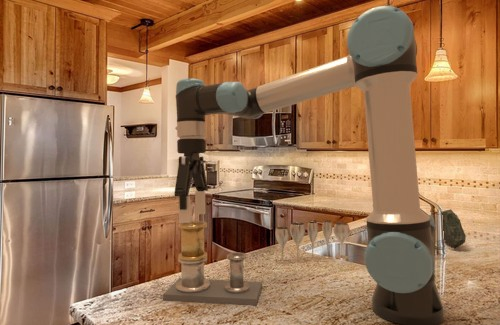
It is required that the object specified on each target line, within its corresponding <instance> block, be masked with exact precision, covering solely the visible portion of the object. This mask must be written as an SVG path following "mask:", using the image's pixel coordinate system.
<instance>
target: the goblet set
mask: <svg viewBox="0 0 500 325" xmlns="http://www.w3.org/2000/svg"><path fill="white" fill-rule="evenodd" d="M332 223H333V222H332V221H328V220H326V221H325V220H324V221H322V226H321V228H322V229H321V230H322V234H323V237H324V238H325V243H326V256H322V257H321V259H323V260H326V261H331V260H333V259H334V257H335V258H336V259H340V260H341V259H342V260H346V259H349V256H347V255H345V254H343V244H344V241H345V240H346V239H347V238H348V237H349V235H350V232H351V230H350V228H351V227H350V225H349V223H347V222H336V223H334V226H333V224H332ZM332 233H333V234H334V236H335V237H336V238H337V239H338V240H339V244H340V254H337V255H335V256H334V257H332V256H329V241H330V239H331V236H332ZM305 234H306V224H305V223H304V222H290V226H289V227H287V226H277V227H276V228H275V239H276V241H277V243H278V244H279V246H280V248H281V260H280V259H279V260H276V262H275V263H276V264H277V265H288V264H290V262H291V261H292V263H294V264H302V263H305V262H306V261H305V260H304V259H302V258H301V259H300V258H299V249H300V244H301V243H302V241H303V239H304V237H305ZM318 234H319V224H318V222H317V221H313V220H312V221H308V222H307V235H308V238H309V240H310V242H311V249H312V252H311V253H312V254H311V257H308V258H307V259H306V260H307V261H309V262H318V261H319V258H316V257H314V246H315V245H314V244H315V241H316V239H317V237H318ZM290 236H291V238H292V240H293V241H294V243H295V245H296V251H297V252H296V254H297V255H296V256H297V257H296V258H293V259H291V261H290V262H289V261H288V260H284V248H285V246H286V244H287V242H288V241H289V239H290Z"/></svg>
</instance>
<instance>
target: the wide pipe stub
mask: <svg viewBox="0 0 500 325" xmlns="http://www.w3.org/2000/svg"><path fill="white" fill-rule="evenodd" d="M177 261H178V263H179V264H181V265H180V266H181V268H180V269H181V270H180V272H181V278H182V280H181V281H179V282H178V283H177V284H176V290H177V291H179V292H182V293H198V292H202V291H205V290H207V289H208V288H209V287H210V282H209V281H208V280H209V279H208V280H206V278H205V262H207V261H208V257H207V258H205V259H203V260H199V261H182V260H180V259H178V260H177Z"/></svg>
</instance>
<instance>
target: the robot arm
mask: <svg viewBox="0 0 500 325" xmlns="http://www.w3.org/2000/svg"><path fill="white" fill-rule="evenodd" d="M415 37H416V36H415V27H414V23H413V22H412V20H411V19H410V17H409V16H408V15H407V13H405V11H403V10H402V9H401V8H398V7H396V6H393V5H379V6H375V7H373V8H369V9H367V10H365V11H364V12H362V13H361V14H359V16H358V17H357V18H356V19H355V20H354V22H353V23H352V24H351V26H350V28H349V31H348V33H347V38H346V46H347V51H348V55H347V56H344V57H340V58H337V59H334V60H332V61H329V62H326V63H324V64H320V65H318V66H314V67H311V68H309V69H306V70H302V71H299V72H297V73H294V74H291V75H289V76H288V75H287V76H285V77H283V78H282V77H281V78H279V79H276V80H273V81H271V82H268V83H265V84H262V85H259V86H256V87H253V88H250V89H248V90H247V89H246V87H245V86H244V84H243V83H242V82H240V81H225V82H222V83H221V82H220V83H214V84H209V85H205V82H204V81H203V80H202V79H198V78H183V79H182V78H181V79H180V80H178V81H177V83H176V85H175V86H176V87H175V89H176V90H175V103H176V104H175V106H176V126H175V130H176V135H177V136H176V137H177V138H179V139H177V141H176V143H177V144H176V147H177V148H176V149H177V150H176V151H177V153H178V154H182V156H179V157H178V167H177V172H176V173H177V175H176V181H175V186H174V187H175V188H174V197H178V224H179V223H190V221H191V196H190V195H189V193H190V190H191V189H190V188H191V184H192V180H193V183H194V187H195V190H196V191H194V195H195V196H194V197H195V198H194V199H195V215H205V214H206V191H207V192H209V187H208V181H207V176H206V171H205V164H204V162H205V161H204V156H200V154H205V153H206V151H207V144H206V143H207V142H206V141H207V140H206V139H205V137H207V136H206V135H207V134H206V116H209V115H228V116H234V117H239V118H243V119H246V120H257V119H260V118H261V117H262V116H263V115H264V114H265V113H269V112H274V111H276V110H279V109H282V108H286V107H289V106H293V105H296V104H300V103H303V102H306V101H309V100H313V99H317V98H320V97H324V96H327V95H331V94H334V93H338V92H341V91H344V90H348V89H351V88H355V87H356V88H358V89H359V90H360V91H361V92H362V93H363V100H364V101H363V102H364V111H365V113H364V114H365V124H366V137H367V148H368V151H367V152H368V160H369V172H370V183H371V184H370V186H371V195H372V196H371V197H372V198H371V199H372V211H371V212H370V213H369V215H367V217H366V218H365V219H366V221H365V222H366V232H367V233H366V234H367V245H366V247H365V250H364V252H365V253H364V264H365V268H366V270H367V273H368V274H369V276H370V277H371V279H372V280H373V281H374V282H376V285H375V288H374V292H373V294H372V297H371V298H372V299H371V309H372V311H373V312H374V313H375V314H376V315H378V316H379V317H380V318H382V319H384V320H387V321H389V322H392V323H395V324H399V325H439V324H441V323H442V322H443V321H444V313H445V311H444V306H443V303H442V299H441V297H440V294H439V291H438V288H437V286H436V282H435V281H436V278H435V277H436V276H435V274H436V273H435V272H436V270H435V269H436V268H435V267H436V264H435V263H436V260H435V259H436V257H435V256H436V254H435V253H436V252H435V250H436V248H435V246H436V244H435V243H436V238H435V237H436V232H435V231H436V228H437V227H436V225H435V218H434V217H433V215H430V214H427V213H425V212H424V211H423V210H422V208H421V202H420V191H419V180H418V169H417V158H416V156H417V155H416V145H415V134H414V123H413V122H414V121H413V120H414V118H413V110H412V97H411V85H412V83H414V81H415V80H416V79H417V77H418V65H417V56H418V44H417V41H416V38H415Z"/></svg>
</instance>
